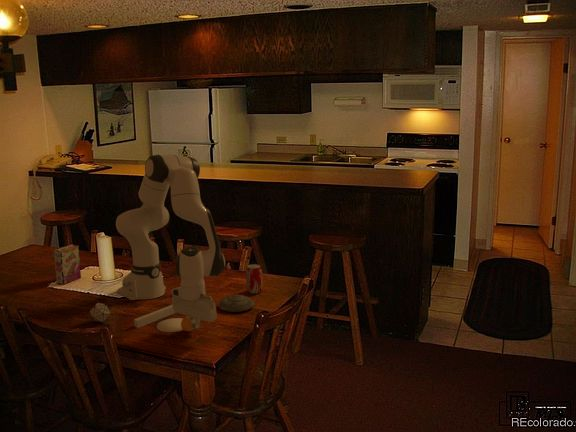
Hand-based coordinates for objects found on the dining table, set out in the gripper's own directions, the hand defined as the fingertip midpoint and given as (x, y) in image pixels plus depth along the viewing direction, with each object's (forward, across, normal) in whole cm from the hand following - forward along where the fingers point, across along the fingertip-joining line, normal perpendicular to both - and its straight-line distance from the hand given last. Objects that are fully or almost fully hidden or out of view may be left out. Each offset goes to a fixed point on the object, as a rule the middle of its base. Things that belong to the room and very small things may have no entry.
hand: (195, 327), depth 217 cm
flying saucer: (+2, +6, -28) cm, 29 cm away
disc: (+2, +13, 0) cm, 13 cm away
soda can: (+2, +12, -46) cm, 48 cm away
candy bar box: (0, +93, -6) cm, 93 cm away
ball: (0, +4, 0) cm, 4 cm away
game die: (+2, +38, +15) cm, 41 cm away
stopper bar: (+2, +23, 0) cm, 23 cm away
